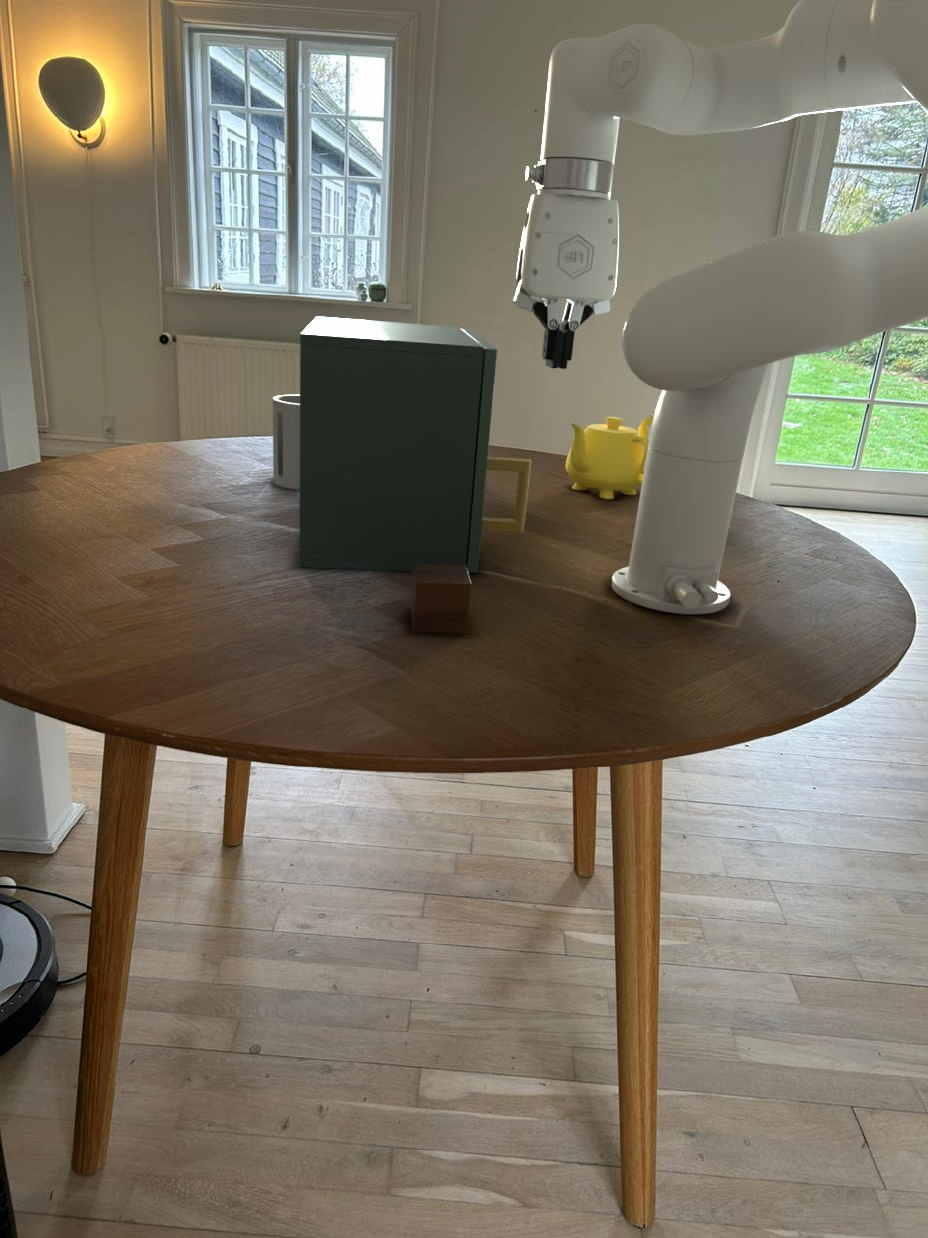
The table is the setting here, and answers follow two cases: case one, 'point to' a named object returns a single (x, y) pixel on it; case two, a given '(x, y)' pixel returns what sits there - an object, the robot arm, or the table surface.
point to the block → (440, 598)
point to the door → (491, 466)
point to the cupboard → (386, 443)
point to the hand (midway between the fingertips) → (555, 366)
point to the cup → (286, 441)
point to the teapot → (608, 457)
